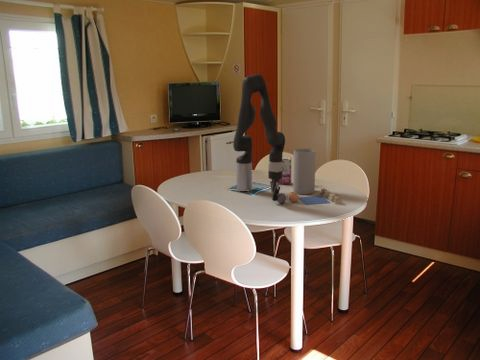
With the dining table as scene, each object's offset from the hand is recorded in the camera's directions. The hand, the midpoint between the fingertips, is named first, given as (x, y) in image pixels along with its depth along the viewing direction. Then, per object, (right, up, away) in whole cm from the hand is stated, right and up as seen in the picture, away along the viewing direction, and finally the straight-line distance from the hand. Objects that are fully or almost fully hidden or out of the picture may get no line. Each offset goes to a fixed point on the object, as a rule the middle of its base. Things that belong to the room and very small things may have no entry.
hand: (274, 200), depth 249 cm
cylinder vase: (+19, +4, +23) cm, 30 cm away
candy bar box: (+8, +9, +43) cm, 45 cm away
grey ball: (+4, +1, +1) cm, 4 cm away
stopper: (+31, +1, +8) cm, 32 cm away
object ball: (+10, +2, +2) cm, 11 cm away
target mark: (+22, 0, +6) cm, 23 cm away
